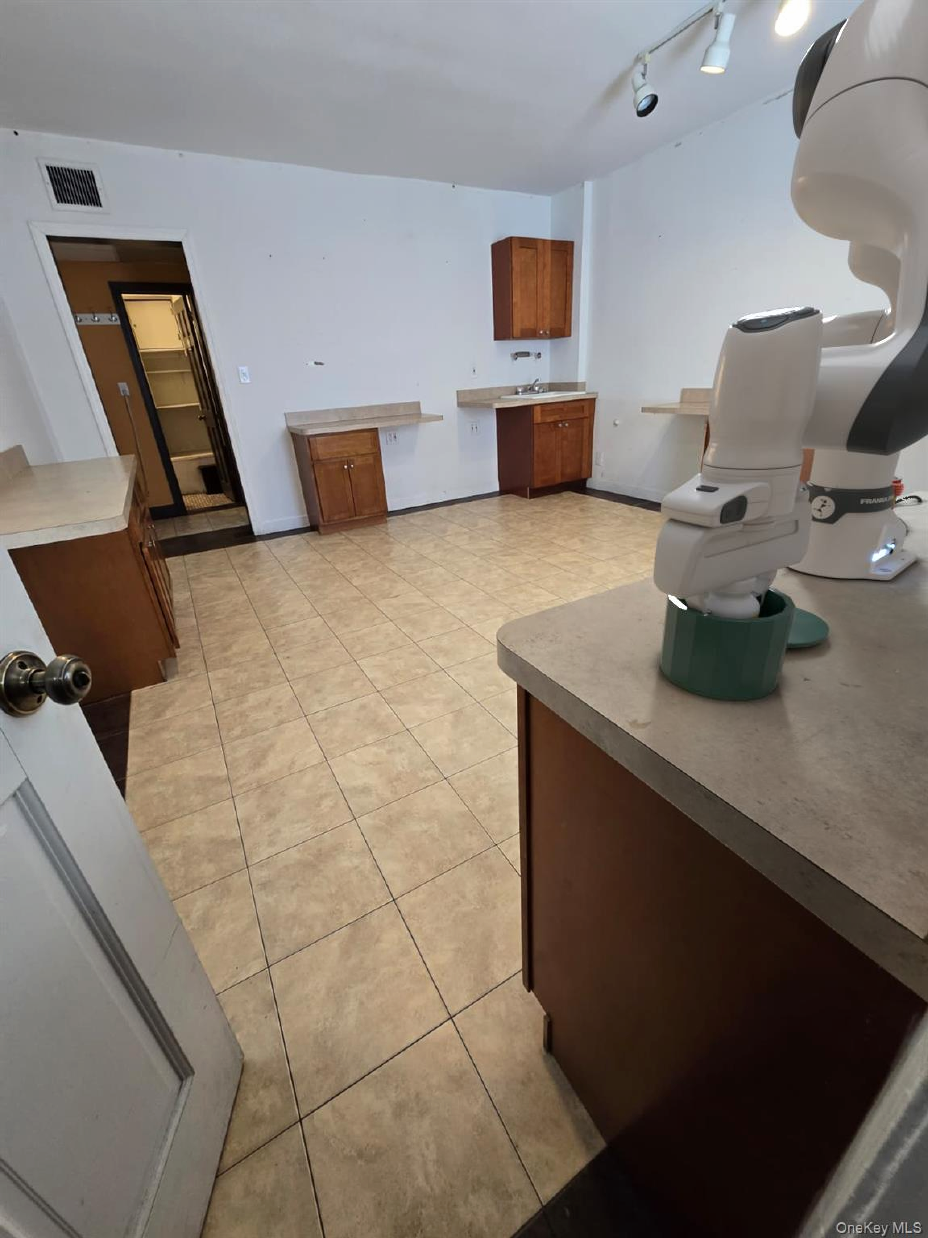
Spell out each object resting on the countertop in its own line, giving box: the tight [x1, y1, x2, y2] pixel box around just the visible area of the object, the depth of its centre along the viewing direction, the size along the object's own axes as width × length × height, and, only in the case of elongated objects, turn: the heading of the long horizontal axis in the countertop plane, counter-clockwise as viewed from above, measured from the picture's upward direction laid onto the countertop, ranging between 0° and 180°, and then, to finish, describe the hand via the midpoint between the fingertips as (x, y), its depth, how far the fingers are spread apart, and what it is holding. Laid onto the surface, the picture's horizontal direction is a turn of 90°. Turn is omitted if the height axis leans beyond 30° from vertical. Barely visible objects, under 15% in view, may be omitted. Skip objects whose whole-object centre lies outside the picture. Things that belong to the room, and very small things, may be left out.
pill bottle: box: [704, 577, 760, 619], centre depth 59 cm, size 6×6×12 cm
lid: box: [786, 607, 830, 649], centre depth 69 cm, size 14×14×5 cm
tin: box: [659, 586, 797, 702], centre depth 59 cm, size 13×13×10 cm
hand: (725, 614), depth 58 cm, fingers open, 7 cm apart
